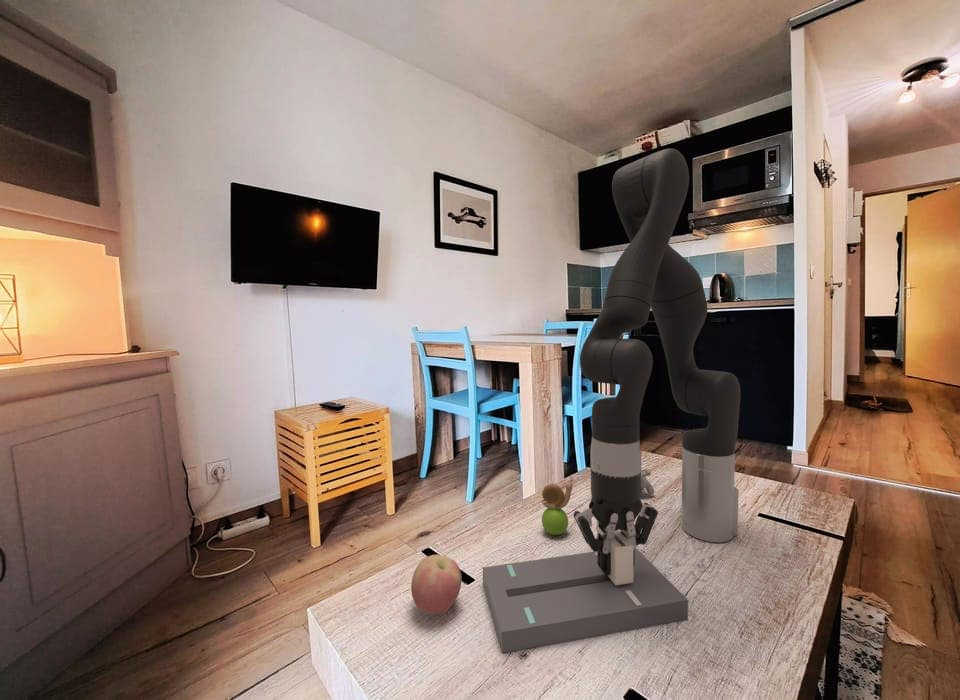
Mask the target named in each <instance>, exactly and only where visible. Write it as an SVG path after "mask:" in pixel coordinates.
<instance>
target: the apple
mask: <svg viewBox="0 0 960 700" xmlns="http://www.w3.org/2000/svg"><path fill="white" fill-rule="evenodd" d="M461 572H462V571H461V569H460V566H459V564H458V563H457V562H456V561H455V560H454V559H452V558H451V557H449V556H445V555H441V554H431V555H428V556H427V557H425V558H423V559H422V560H421V561H420V562H419V563H418V564H417V566H416V567H415V569H414V571H413V574H412V579H411V583H410V584H411V585H410V586H411V587H410V589H411V590H410V591H411V596H412V599H413V602H414V603H415V605H416V607H417V608H418V609H419V610H421V612H423V613H426V614H428V615H429V614H431V615H440V614H443V613H446V612H447V611H449V609H450V608H451V607H452V606H453V605H454V604H455V602H456V600H457V598H458V596H459V594H460V591H461V586H462V573H461Z"/></svg>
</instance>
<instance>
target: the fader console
mask: <svg viewBox="0 0 960 700" xmlns="http://www.w3.org/2000/svg"><path fill="white" fill-rule="evenodd" d="M482 584H483V585H482V586H483V589H484V593H485V595H486V600H487V604H488V606H489V610H490V611H489V612H490V614H491V618H492V621H493V626H494V628H495V631H496V632H495V633H496V635H497V639H498V643H499V647H500V651H501V653H502V654H506V653H511V652H516V651H522V650H527V649H533V648H537V647H544V646H549V645H554V644H561V643H565V642H571V641H575V640H576V641H577V640H582V639H588V638H592V637H598V636H603V635H610V634H614V633H615V634H616V633H621V632H626V631H631V630H637V629H641V628H642V629H643V628H648V627H653V626H659V625H663V624H670V623H675V622H680V621H686V620H689V618H688V617H689V599H688V598H687V597H686V596H685V595H684V594H683V593H682V592H681V591H680V590H679V589H678V588H677V587H676V586H675V585H674V584H673V583H672V581H670V580H669V579H668V578H667V577H666V575H664V574H663V573H662V572H661V571H660V570H659V569H658V568H657V567H656V566H655V565H654V563H652V562H651V561H650V560H649V559H648V558H647V557H646V556H645V555H644V554H643V553H642V552H641V551H640V550H639V549H638V548H637V547H636V549H635V564H634V567H633V583H627V584H621V585H615V584H614V583H613V582H612V580H611V579H610V578H609V576H608V575H605V573H604V572H602V570H601V569H600V568H599V566H598V564H597V551H596V552H594V551H588V552H582V553H575V554H568V555H560V556H554V557H553V556H552V557H547V558H540V559H533V560H526V561H525V560H524V561H518V562H512V563H506V564H503V563H502V564H498V565H497V564H496V565H490V566H485V567H482Z"/></svg>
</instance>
